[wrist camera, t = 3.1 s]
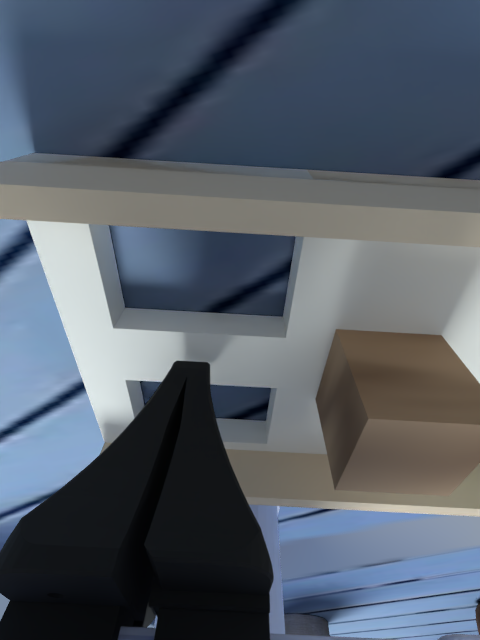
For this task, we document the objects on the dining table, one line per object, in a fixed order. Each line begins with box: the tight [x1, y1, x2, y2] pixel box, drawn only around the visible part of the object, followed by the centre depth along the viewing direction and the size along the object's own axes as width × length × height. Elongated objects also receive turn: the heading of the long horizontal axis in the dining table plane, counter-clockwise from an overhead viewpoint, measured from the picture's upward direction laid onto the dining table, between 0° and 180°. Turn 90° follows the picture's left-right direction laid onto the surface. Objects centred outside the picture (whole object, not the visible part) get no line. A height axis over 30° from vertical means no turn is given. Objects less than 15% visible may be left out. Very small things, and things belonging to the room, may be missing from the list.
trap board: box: [0, 153, 480, 517], centre depth 13 cm, size 15×28×4 cm, turn 87°
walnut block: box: [315, 329, 480, 496], centre depth 12 cm, size 4×4×4 cm
